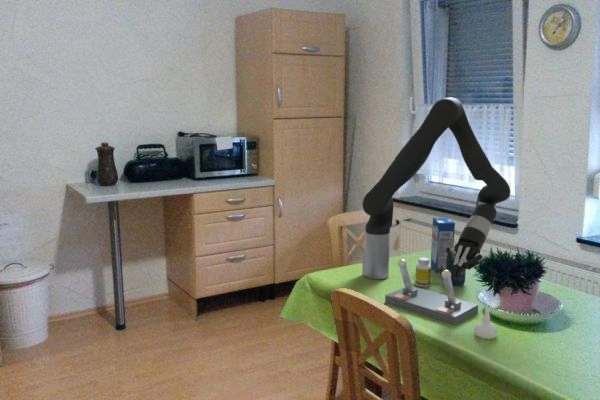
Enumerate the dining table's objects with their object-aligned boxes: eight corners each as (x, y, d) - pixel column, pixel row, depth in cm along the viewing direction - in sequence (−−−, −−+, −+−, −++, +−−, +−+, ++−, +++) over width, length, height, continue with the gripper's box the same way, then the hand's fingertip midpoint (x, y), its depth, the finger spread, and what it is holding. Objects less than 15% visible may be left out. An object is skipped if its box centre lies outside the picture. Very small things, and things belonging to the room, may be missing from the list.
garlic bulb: (469, 335, 161) (469, 309, 159) (484, 328, 164) (484, 303, 162) (486, 343, 155) (486, 317, 153) (502, 336, 158) (502, 311, 156)
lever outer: (446, 305, 174) (439, 272, 168) (450, 299, 176) (443, 267, 170) (454, 307, 172) (447, 274, 166) (458, 302, 174) (452, 269, 168)
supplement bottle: (430, 287, 199) (431, 261, 197) (415, 286, 200) (416, 260, 198) (430, 282, 204) (431, 257, 202) (415, 281, 205) (416, 256, 203)
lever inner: (404, 292, 185) (395, 262, 179) (408, 287, 187) (400, 257, 181) (411, 294, 183) (402, 263, 177) (415, 289, 185) (407, 258, 179)
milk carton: (452, 273, 215) (455, 223, 211) (436, 273, 215) (438, 223, 211) (446, 265, 225) (448, 217, 221) (430, 265, 225) (432, 217, 221)
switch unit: (385, 302, 185) (385, 289, 184) (409, 291, 194) (409, 280, 194) (455, 324, 166) (455, 311, 166) (477, 312, 176) (478, 299, 175)
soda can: (457, 288, 198) (459, 256, 196) (441, 283, 203) (443, 252, 201) (468, 284, 202) (470, 252, 200) (452, 279, 207) (453, 248, 205)
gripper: (453, 222, 181) (430, 266, 175) (491, 229, 172) (468, 276, 165) (460, 235, 185) (439, 278, 179) (498, 243, 176) (476, 288, 170)
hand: (453, 277), depth 172 cm, fingers closed
